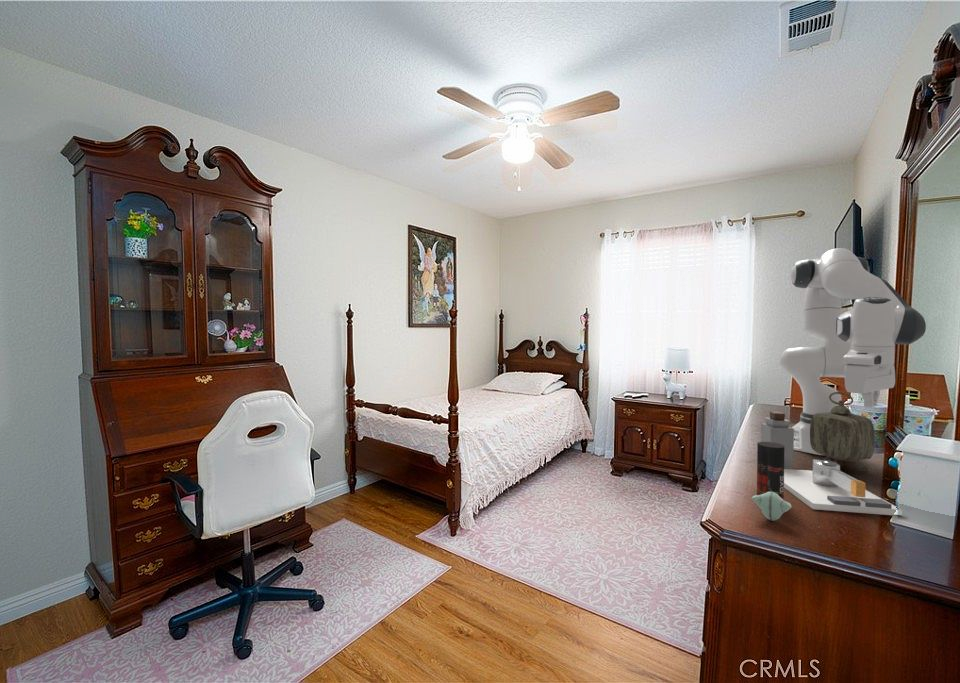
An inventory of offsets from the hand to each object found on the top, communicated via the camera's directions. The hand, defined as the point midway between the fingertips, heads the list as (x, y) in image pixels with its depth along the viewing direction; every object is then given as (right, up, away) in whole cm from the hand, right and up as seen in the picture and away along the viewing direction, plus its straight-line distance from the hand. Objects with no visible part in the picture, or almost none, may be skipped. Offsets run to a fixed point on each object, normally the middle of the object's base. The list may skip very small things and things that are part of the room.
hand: (870, 406), depth 115 cm
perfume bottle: (-8, -24, +25) cm, 36 cm away
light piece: (-10, -23, 0) cm, 24 cm away
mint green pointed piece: (-37, -25, -15) cm, 47 cm away
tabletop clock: (+11, -24, +23) cm, 35 cm away
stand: (-10, -24, +3) cm, 27 cm away
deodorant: (-30, -25, -3) cm, 39 cm away
